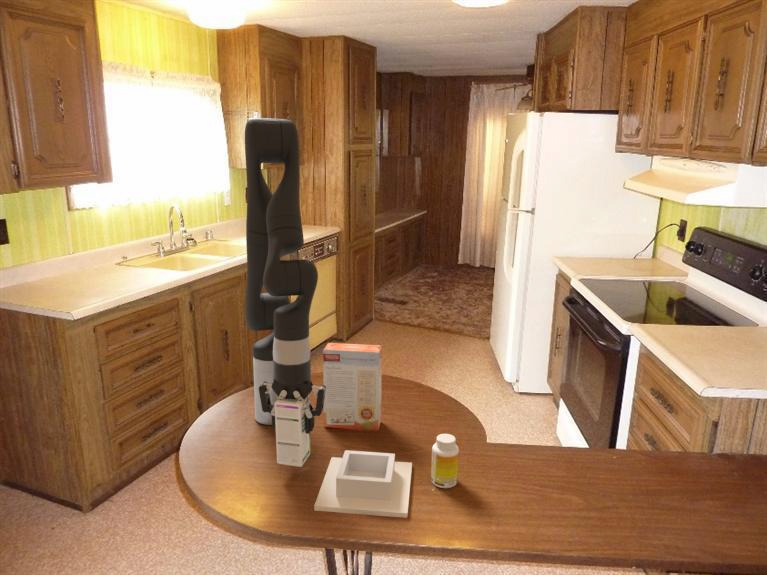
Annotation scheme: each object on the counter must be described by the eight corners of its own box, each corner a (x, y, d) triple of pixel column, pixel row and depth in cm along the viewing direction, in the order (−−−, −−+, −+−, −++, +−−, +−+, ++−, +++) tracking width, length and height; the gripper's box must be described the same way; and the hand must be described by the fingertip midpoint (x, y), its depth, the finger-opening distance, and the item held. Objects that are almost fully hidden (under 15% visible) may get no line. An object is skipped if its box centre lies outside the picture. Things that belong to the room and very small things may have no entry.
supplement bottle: (462, 485, 118) (464, 441, 115) (439, 492, 115) (441, 447, 113) (448, 472, 123) (450, 429, 120) (425, 478, 120) (427, 434, 118)
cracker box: (381, 421, 145) (383, 344, 140) (378, 432, 140) (379, 352, 135) (328, 417, 147) (328, 340, 142) (323, 427, 141) (322, 349, 136)
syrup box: (302, 467, 117) (301, 404, 114) (275, 463, 118) (274, 400, 115) (311, 453, 123) (310, 392, 119) (285, 449, 124) (284, 389, 120)
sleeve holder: (331, 461, 126) (331, 440, 125) (412, 466, 124) (412, 446, 123) (314, 510, 109) (314, 487, 107) (407, 517, 107) (408, 494, 106)
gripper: (330, 351, 118) (330, 424, 122) (263, 347, 119) (265, 420, 123) (323, 365, 110) (323, 442, 115) (251, 361, 112) (254, 437, 116)
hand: (293, 430), depth 119 cm, fingers closed on syrup box, 6 cm apart
